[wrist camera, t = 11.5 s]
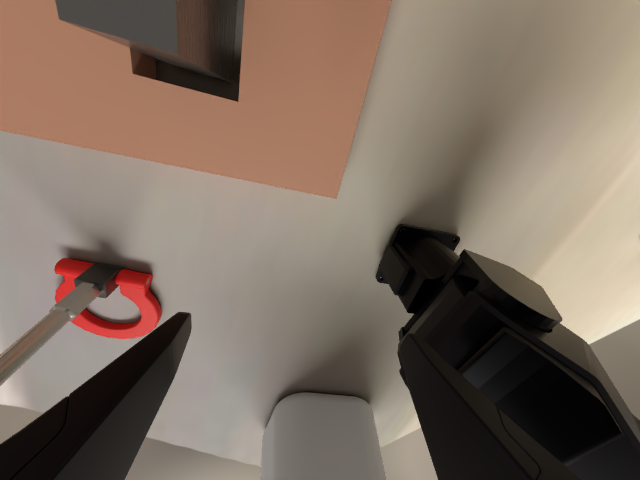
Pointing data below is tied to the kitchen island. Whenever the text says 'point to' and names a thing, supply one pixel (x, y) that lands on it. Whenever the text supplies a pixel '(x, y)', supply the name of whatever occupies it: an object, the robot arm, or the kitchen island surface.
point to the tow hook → (73, 299)
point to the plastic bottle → (321, 440)
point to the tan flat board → (198, 107)
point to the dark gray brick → (164, 29)
